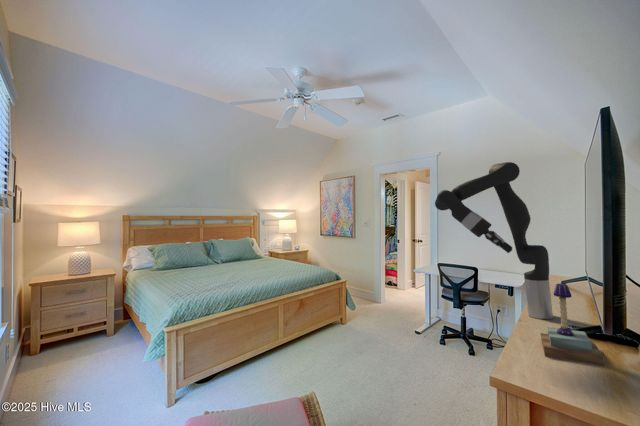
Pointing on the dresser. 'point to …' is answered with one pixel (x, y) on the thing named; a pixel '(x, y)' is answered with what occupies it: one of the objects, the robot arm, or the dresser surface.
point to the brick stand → (571, 347)
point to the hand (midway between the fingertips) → (510, 250)
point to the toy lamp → (563, 308)
